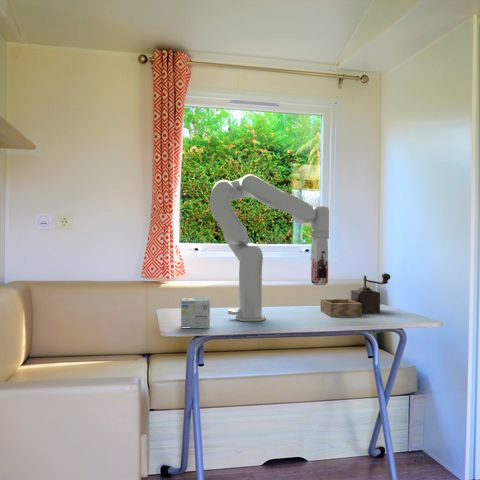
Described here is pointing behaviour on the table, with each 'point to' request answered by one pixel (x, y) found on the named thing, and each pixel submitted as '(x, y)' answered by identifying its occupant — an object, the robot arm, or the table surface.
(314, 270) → the soda can
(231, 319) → the table surface
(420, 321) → the table surface
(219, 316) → the table surface
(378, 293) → the manual coffee grinder
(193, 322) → the light bulb box
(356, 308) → the open wooden box
